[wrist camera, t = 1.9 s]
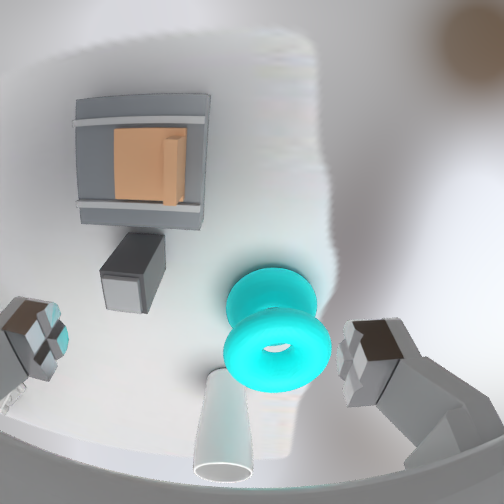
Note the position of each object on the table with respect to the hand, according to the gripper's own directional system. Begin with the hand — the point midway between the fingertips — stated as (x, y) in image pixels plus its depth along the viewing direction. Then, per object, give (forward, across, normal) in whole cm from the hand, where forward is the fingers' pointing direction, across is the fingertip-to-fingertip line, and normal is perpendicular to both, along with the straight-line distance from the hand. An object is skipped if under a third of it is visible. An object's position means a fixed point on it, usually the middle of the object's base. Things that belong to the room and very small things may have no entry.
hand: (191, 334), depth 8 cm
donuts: (+23, -5, +15) cm, 28 cm away
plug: (+22, +9, +9) cm, 26 cm away
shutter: (+20, +7, -1) cm, 21 cm away
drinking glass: (+22, 0, +29) cm, 37 cm away
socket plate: (+23, +8, -1) cm, 24 cm away
